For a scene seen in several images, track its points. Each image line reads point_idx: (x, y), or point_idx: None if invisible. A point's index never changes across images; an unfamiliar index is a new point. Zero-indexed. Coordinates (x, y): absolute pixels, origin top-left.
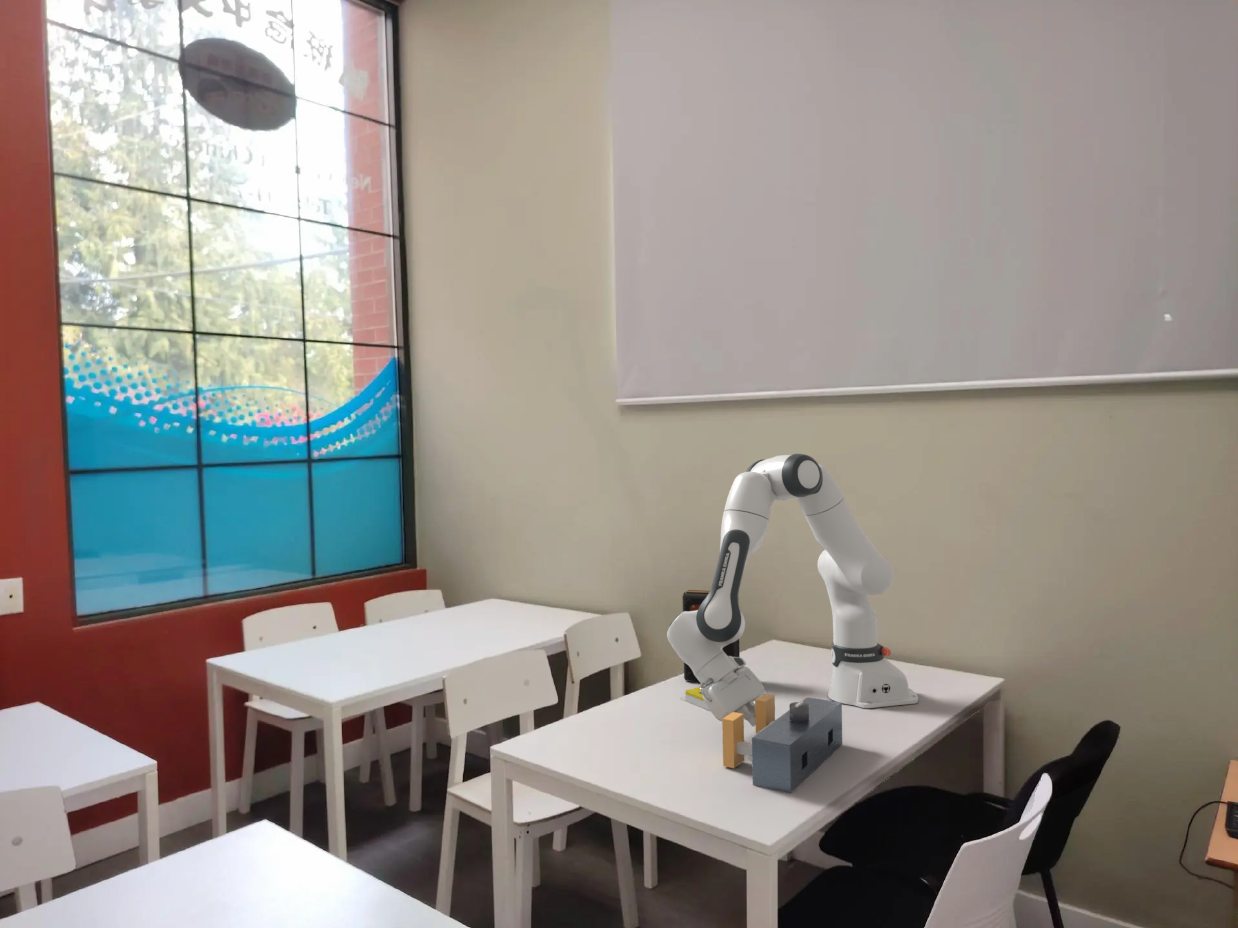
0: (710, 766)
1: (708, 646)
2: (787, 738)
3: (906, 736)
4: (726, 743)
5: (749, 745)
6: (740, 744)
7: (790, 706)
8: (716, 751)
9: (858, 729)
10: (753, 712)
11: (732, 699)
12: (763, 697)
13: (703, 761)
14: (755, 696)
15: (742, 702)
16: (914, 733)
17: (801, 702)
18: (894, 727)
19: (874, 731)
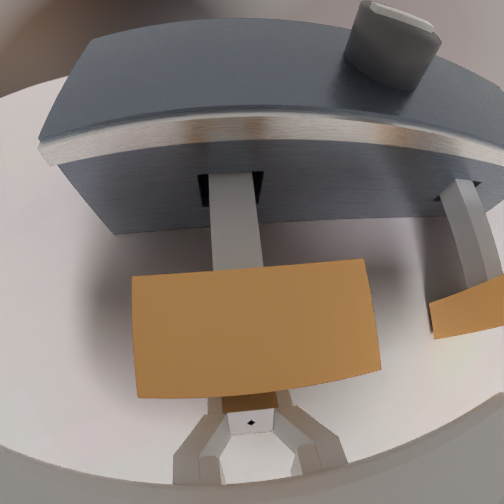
0: (482, 354)
1: None
2: (491, 90)
3: (49, 92)
4: None
5: (488, 239)
6: (499, 267)
7: (440, 45)
8: (406, 425)
9: (20, 165)
10: (220, 436)
11: (460, 482)
12: (264, 345)
13: (470, 392)
14: (119, 482)
15: (363, 474)
16: (34, 93)
17: (389, 7)
18: (8, 127)
19: (28, 137)
